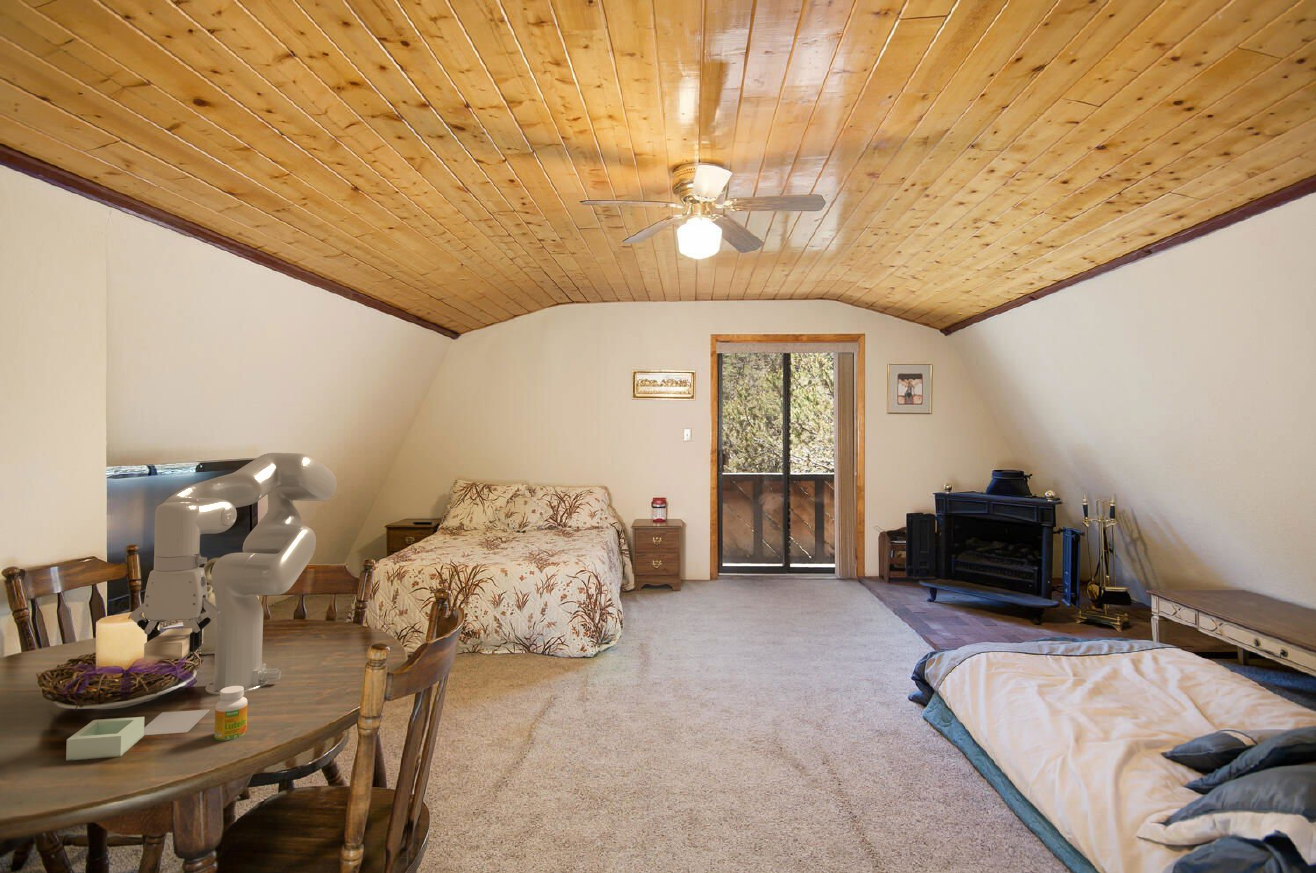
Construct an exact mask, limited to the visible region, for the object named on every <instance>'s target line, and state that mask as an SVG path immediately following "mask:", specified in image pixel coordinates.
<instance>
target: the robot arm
mask: <svg viewBox="0 0 1316 873" xmlns="http://www.w3.org/2000/svg"><path fill="white" fill-rule="evenodd" d="M337 488H338V482H337V478H336V475H335V473H333V471H332V470H331V469H330V468H328V467H327V466H326V465H324V464H322V462H320V461H319V460H317V459H315V458H314V457H313V456H311V455H307V454H305V453H299V452H298V453H297V452H296V453H294V452H293V453H292V452H291V453H290V452H269V453H263V454H262V455H259V456H258V457H256V458H255V459H253V460H252V461H250V462H249V463H247V464H245V465H244V466H241V468H239V469H238V470H237V469H236V471H234V472H232V473H228V474H225V475H221V476H217V477H214V478H211V479H207V480H203V481H199V482H197V483H194V484H191V485H189V486H186V487H184V488H182V489H181V490H179V491H177V492H176V493H173V494H172V495H171V496H169V497H168V498H167V499H166V500H164V502H163V503H161V504H158V506H157V507H156V509H155V515H154V517H155V518H154V544H153V545H154V548H153V549H154V550H153V551H154V552H153V553H154V556H153V570H150V572H149V575H148V578H147V582H146V586H145V592H144V597H143V598H144V599H143V603H141V605H140V606H138V607H137V608H135V610H133V611H132V612H131V613H130V614H129V616H128V617H129V618H130V619H131V620H132V621H133V622H134V623H136V624H137V627H139V628H140V629H141V630H143V633H144V634H145V635H146V642H148V641H150V640H151V639H153V638H155V637H156V636H158V635H160V634H161V631H160V630H161V629H158V628H159V626H160V624H161V622H163V621H165V622H166V621H167V622H168V621H183V620H188V621H189V623H190V625H191V627H192V632H191V633H190V652H195V651H196V650H197V649H199V647H200V646H201V645H202V629H203V628H204V627H205V626H206V625H208V624H209V623H210V622H211V621H212V620H213V619H214V618H215V617H216V626H215V654H214V662H213V663H214V669H213V670H214V671H213V672H214V673H213V680H212V681H211V682H209V683H208V684H207V685H206V686H205V692H206V693H208V694H209V695H210V694H211V695H216V696H220V691H221V690H222V689H223V688H226V687H230V686H242V687H244V693H249V692H252V691H255V690H257V689H260V688H263V687H264V686H266V685H267V684H268V683H270V680H271V681H273V680H280V679H281V677H282V670H279V668H270V669H269V668H268V667H267V663H266V662H263V634H264V633H263V628H264V609H263V605H262V603H261V601H260V598H259V597H258V596H278V595H282V594H285V593H287V592H288V591H289V590H290V589H292V587H293V585H295V583H296V582H297V580H298V579H299V577H301V576H300V575H301V574H302V573H303V571H304V570H305V569H306V567H307V566H308V564H309V563H310V561H311V560H312V558H313V556H314V554H315V550H316V547H317V546H316V544H317V536H316V534H315V531H314V529H312V528H310V527H309V526H306V525H303V524H302V517H301V515H300V512H299V511H298V509H297V508H296V507H295V504H294V502H295V501H297V502H298V501H300V502H301V501H302V502H305V501H306V502H325V501H329V500H331V499H332V498H333V497H334V496H335V494H336V492H337ZM266 496H267V511H266V513H265V514H264V515H263V517H262V518H261V519H260V521H259V522H258V523H257V524H256V526H254V527H253V529H252V530H251V531H250V532H249V534H248V535H247V536H246V538H245V539H244V542H243V543H242V544H243V545H242V552H231V553H227V554H224V555H222V556H221V557H218V558H219V559H218V560H217V561H216V562H215V563H214V564H213V565H212V567H211V568H212V569H211V572H210V574H211V579H212V585H213V590H214V595H215V604H216V606H214V605H213V604H212V603H211V602H209V601H208V591H207V585H208V583H207V582H206V575H205V571H204V568H203V567H200V566H201V565H203V564H204V565H205V564H206V563H207V562H208V557H206V556H202V555H201V553H200V548H201V547H200V546H201V545H200V544H201V543H200V542H201V541H200V540H201V535H205V534H206V535H207V534H208V535H209V534H211V535H212V534H220V533H224V532H226V531H228V530H229V529H230V528H232V526H234V525H235V523H236V520H237V517H238V514H237V513H238V512H237V509H236V508H242V507H246V506H251V505H253V504H255V503H257V502H259V501H260V500H262V499H263V498H265V497H266ZM207 611H208V613H209V614H208V616H207V617H206V618H205V619H203V620H202V618H201V616H200V614H203V613H205V612H207Z"/></svg>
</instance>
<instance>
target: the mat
mask: <svg viewBox="0 0 1316 873" xmlns="http://www.w3.org/2000/svg"><path fill="white" fill-rule="evenodd" d="M209 711H210V709H197V710H196V709H195V710H181V711H180V710H179V711H165V712H164V711H163V712H161V713H160V714H158V715H157V716H156V717H155V718H154V719H152V720H151V721H150V722H149V723H148V724H147V725H146V726H145V725H144V736H154V735H155V736H157V735H165V734H167V735H170V734H180V733H182V734H183V733H184V734H185V733H188V732H189V731H190V730H192V728H193V727H195V725H196V724H197V723H198V722H199V721H201V719H202V718H203V717H204V716H206V714H208V713H209Z"/></svg>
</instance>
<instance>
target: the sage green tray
mask: <svg viewBox="0 0 1316 873" xmlns="http://www.w3.org/2000/svg"><path fill="white" fill-rule="evenodd" d="M144 727H145V716H137V717H119V718H118V717H117V718H104V719H93V720H91V721H90V722H89V723H88V724H87V725H85V726H84V727H82V728H81V729H80V730H78V731H77V732H75V733H74V734H72V735H71V736H70V737H68V738H67V739H66V747H65V748H66V750H65V751H66V753H65V755H66V756H65V760H66V761H77V760H79V761H81V760H89V759H90V760H92V759H106V758H117V757H120V758H121V757H122V756H123V755H124V754H125V753H126V752H127V751H129V749H131V748H132V747H133V746H135V745H136V744H137V743H138V742H139V741H140V740H141V739H143V738H144V737H145V735H144Z"/></svg>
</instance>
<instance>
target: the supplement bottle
mask: <svg viewBox="0 0 1316 873" xmlns="http://www.w3.org/2000/svg"><path fill="white" fill-rule="evenodd" d="M244 695H245V692H244V687H242V686H230V687H226V688H223V689H222V690H221V691H220V695H219V699H220V700H218V701H217V703H216V704H215V706H214V707H215V708H214V709H215V710H214V737H213V738H214V739H215V740H216V741H219V742H220V741H223V742H225V741H226V742H227V741H232V740H236V739H239V738H241V737H243V736H245V735H247V731H248V699H247V698H246V697H245V696H244Z"/></svg>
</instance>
